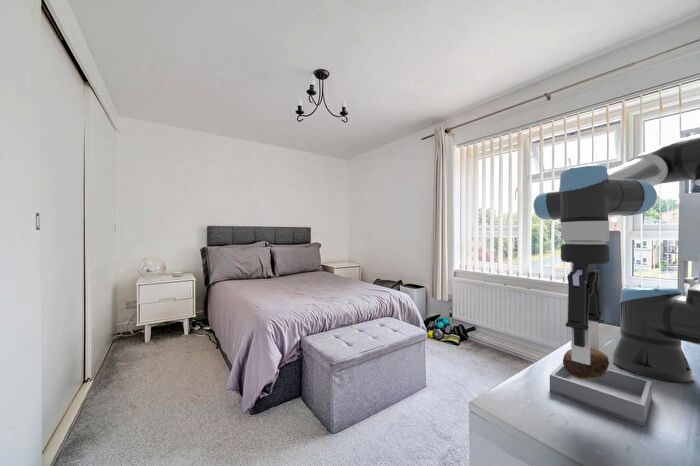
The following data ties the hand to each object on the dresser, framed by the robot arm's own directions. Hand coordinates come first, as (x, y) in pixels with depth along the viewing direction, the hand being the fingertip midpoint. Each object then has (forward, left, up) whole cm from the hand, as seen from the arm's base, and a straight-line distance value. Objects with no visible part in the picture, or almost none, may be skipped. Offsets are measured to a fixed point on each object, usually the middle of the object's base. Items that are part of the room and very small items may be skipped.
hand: (585, 356), depth 56 cm
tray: (-9, -11, -12) cm, 19 cm away
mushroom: (0, 0, -4) cm, 4 cm away
